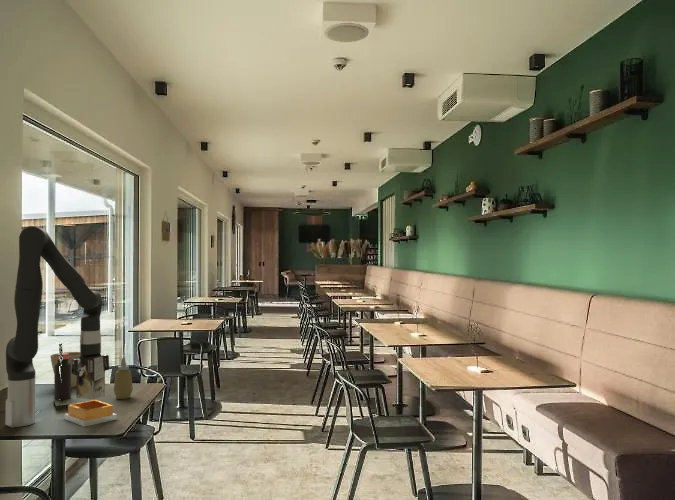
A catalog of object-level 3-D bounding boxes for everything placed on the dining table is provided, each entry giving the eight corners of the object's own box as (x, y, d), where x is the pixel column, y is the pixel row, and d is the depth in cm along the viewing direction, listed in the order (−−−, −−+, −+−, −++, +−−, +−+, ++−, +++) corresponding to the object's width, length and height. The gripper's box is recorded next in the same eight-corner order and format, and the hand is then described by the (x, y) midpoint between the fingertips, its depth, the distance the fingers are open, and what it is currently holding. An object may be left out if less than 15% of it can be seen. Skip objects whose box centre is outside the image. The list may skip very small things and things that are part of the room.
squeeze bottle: (109, 398, 257) (109, 358, 258) (123, 395, 264) (124, 355, 265) (122, 401, 254) (122, 360, 254) (136, 397, 261) (136, 357, 261)
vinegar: (74, 396, 261) (74, 352, 262) (65, 400, 255) (65, 355, 255) (59, 396, 262) (60, 352, 262) (51, 400, 255) (51, 355, 255)
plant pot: (74, 382, 292) (75, 350, 292) (89, 386, 283) (89, 353, 283) (44, 387, 281) (44, 354, 281) (58, 391, 271) (59, 357, 271)
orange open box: (83, 426, 215) (83, 412, 215) (64, 419, 225) (64, 405, 225) (116, 419, 225) (116, 405, 225) (96, 412, 235) (96, 398, 235)
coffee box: (106, 395, 227) (106, 355, 227) (94, 399, 221) (94, 358, 221) (86, 394, 230) (86, 354, 230) (75, 398, 224) (75, 356, 224)
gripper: (77, 345, 218) (77, 388, 217) (112, 340, 228) (112, 381, 228) (67, 343, 222) (68, 385, 222) (103, 338, 233) (103, 379, 233)
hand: (90, 383), depth 225 cm, fingers closed on coffee box, 8 cm apart
